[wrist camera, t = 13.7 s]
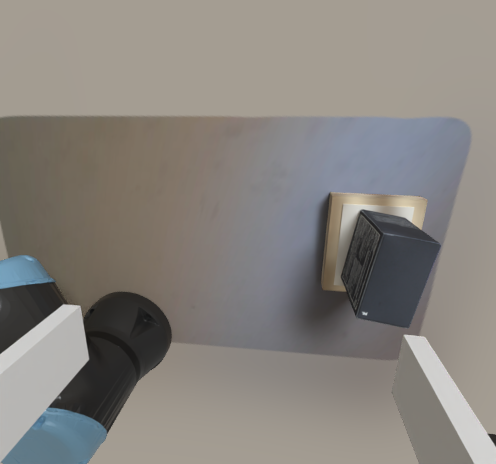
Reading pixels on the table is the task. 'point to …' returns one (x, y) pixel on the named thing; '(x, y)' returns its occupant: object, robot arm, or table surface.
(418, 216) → the beech picture frame
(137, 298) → the robot arm
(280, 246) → the table surface
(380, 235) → the small box
